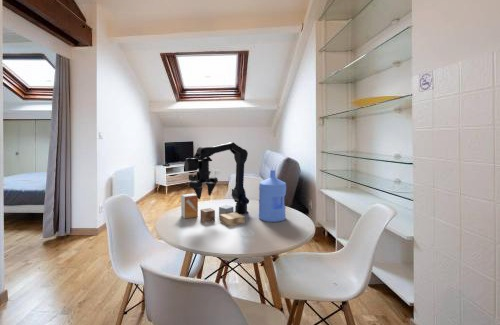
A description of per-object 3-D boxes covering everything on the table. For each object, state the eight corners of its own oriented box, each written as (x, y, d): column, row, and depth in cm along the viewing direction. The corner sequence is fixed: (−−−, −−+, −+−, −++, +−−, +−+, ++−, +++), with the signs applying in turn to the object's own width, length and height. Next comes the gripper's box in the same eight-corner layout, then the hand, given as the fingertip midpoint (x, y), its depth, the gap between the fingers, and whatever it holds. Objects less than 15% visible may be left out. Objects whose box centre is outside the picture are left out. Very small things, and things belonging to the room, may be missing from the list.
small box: (184, 219, 146) (184, 196, 144) (181, 216, 151) (180, 194, 150) (198, 216, 150) (197, 195, 149) (194, 214, 155) (193, 193, 154)
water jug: (254, 219, 146) (254, 171, 143) (265, 212, 159) (266, 168, 157) (279, 224, 138) (280, 173, 136) (289, 216, 152) (290, 170, 149)
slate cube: (226, 214, 155) (226, 204, 154) (233, 216, 151) (233, 206, 151) (219, 216, 151) (219, 206, 150) (226, 219, 147) (226, 208, 146)
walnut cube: (210, 218, 148) (210, 207, 148) (214, 220, 143) (214, 210, 143) (200, 219, 145) (200, 209, 144) (205, 222, 140) (204, 212, 139)
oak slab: (235, 218, 148) (235, 211, 148) (244, 223, 140) (244, 216, 140) (219, 221, 143) (219, 214, 142) (228, 226, 135) (228, 219, 134)
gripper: (202, 166, 153) (203, 192, 155) (180, 170, 136) (181, 199, 138) (218, 168, 148) (218, 194, 149) (197, 172, 131) (198, 201, 133)
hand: (204, 197), depth 143 cm, fingers open, 9 cm apart
